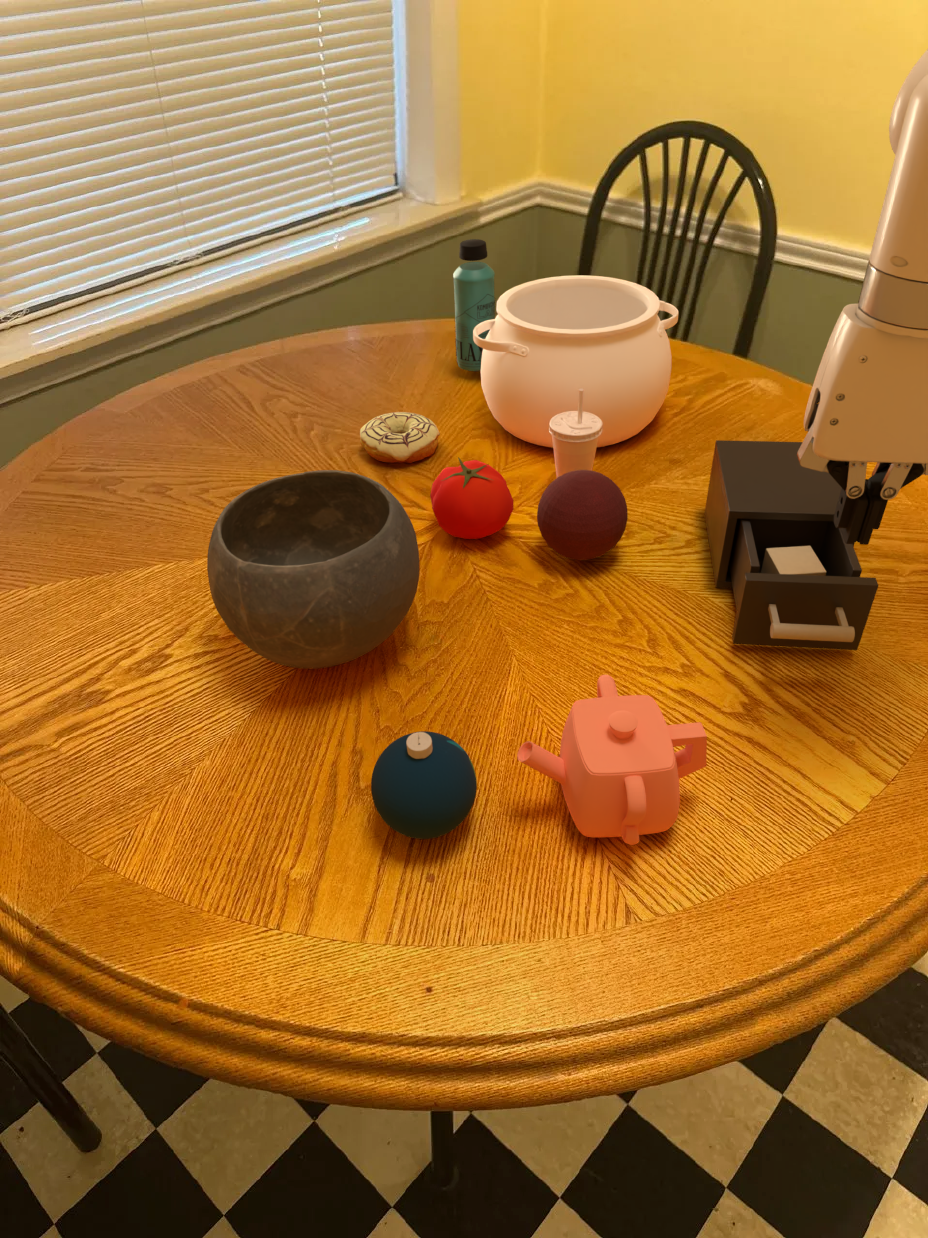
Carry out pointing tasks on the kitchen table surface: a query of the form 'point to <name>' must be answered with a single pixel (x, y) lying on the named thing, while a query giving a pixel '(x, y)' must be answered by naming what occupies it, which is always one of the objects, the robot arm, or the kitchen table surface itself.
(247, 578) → the bowl
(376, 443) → the decorated donut
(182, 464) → the kitchen table surface
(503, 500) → the tomato
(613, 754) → the teapot
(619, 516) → the decorative ball
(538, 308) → the pot
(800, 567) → the block
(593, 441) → the smoothie
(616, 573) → the kitchen table surface
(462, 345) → the beverage bottle
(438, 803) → the christmas ornament
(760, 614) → the drawer
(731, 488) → the cabinet
